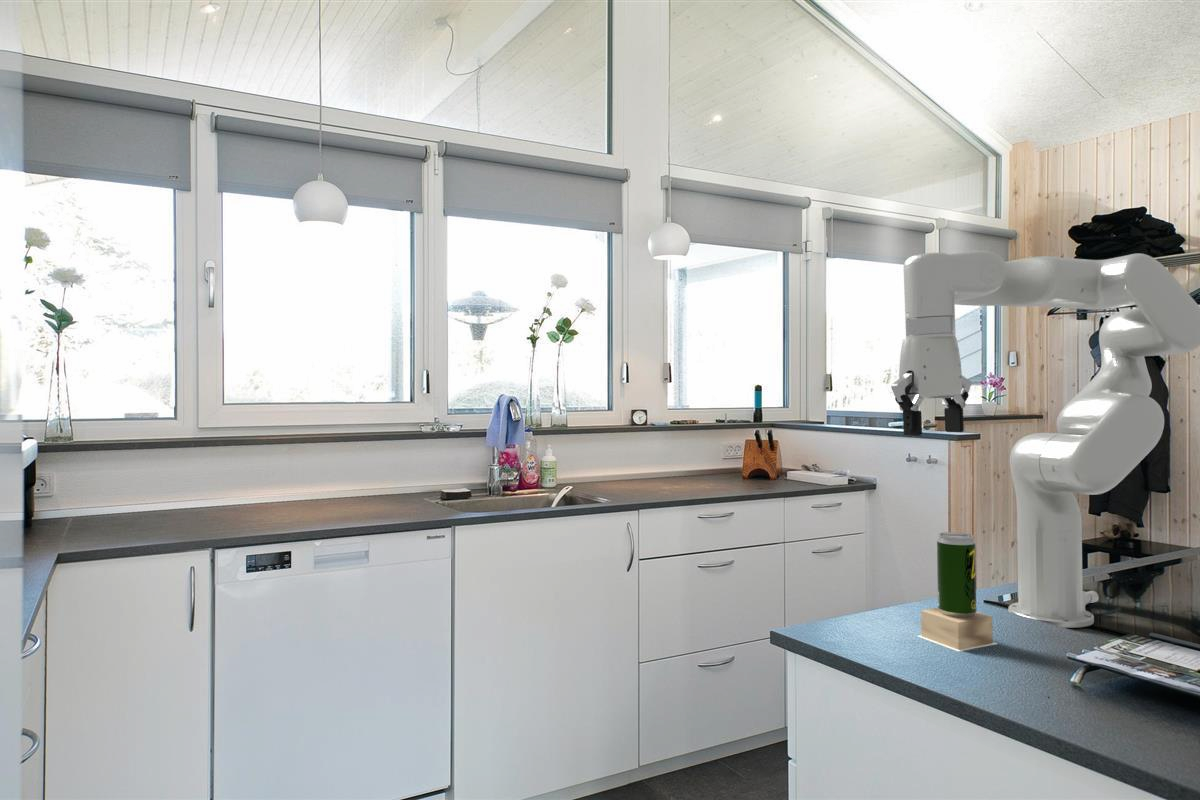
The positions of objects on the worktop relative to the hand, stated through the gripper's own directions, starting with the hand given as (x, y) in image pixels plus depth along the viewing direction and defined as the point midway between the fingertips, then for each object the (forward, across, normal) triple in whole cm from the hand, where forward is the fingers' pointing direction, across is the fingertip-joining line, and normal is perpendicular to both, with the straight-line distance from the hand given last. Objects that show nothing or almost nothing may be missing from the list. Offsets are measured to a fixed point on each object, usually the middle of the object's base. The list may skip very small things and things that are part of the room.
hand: (933, 433), depth 126 cm
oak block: (+31, +6, +8) cm, 32 cm away
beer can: (+27, +5, +8) cm, 29 cm away
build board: (+32, +6, +8) cm, 33 cm away
